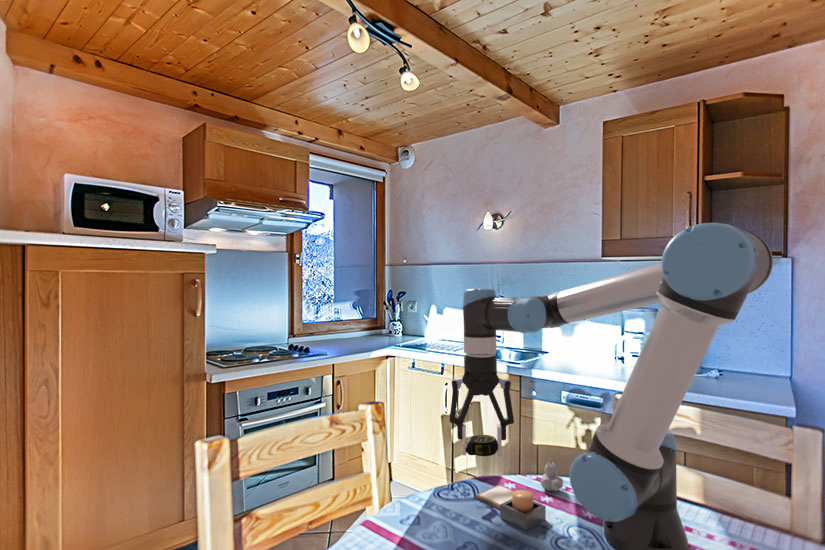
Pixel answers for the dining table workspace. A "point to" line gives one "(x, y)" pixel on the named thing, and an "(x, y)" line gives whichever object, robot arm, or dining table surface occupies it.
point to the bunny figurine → (551, 478)
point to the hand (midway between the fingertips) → (481, 453)
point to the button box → (523, 515)
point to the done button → (522, 501)
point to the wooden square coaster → (495, 495)
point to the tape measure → (482, 445)
